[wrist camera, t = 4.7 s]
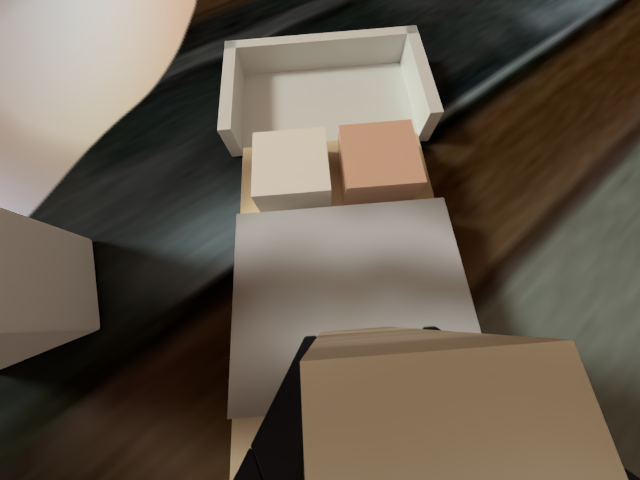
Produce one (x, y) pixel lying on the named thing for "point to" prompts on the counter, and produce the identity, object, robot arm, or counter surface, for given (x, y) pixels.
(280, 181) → the tile
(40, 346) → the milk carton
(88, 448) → the counter surface
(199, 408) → the counter surface
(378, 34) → the tray
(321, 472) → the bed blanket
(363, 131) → the tile
